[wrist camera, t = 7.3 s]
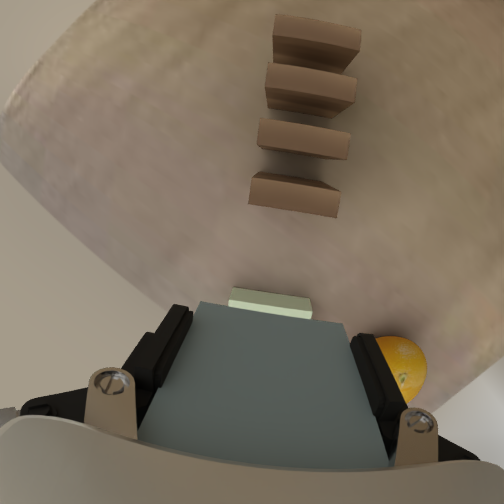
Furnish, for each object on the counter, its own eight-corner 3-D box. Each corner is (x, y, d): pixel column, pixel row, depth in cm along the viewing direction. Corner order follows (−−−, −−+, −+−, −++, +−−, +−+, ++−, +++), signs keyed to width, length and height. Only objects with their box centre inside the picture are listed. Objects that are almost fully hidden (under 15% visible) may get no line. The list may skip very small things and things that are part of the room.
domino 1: (275, 52, 25) (275, 14, 17) (337, 63, 25) (361, 30, 16) (273, 69, 26) (272, 34, 17) (336, 79, 26) (359, 50, 17)
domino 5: (200, 301, 13) (110, 490, 4) (342, 323, 13) (403, 517, 4) (197, 337, 13) (124, 520, 5) (331, 357, 13) (369, 544, 5)
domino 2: (270, 90, 26) (268, 62, 18) (333, 100, 26) (357, 78, 18) (267, 107, 27) (264, 86, 18) (331, 118, 27) (354, 102, 18)
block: (233, 287, 32) (229, 299, 29) (309, 298, 32) (312, 311, 29) (230, 312, 33) (225, 326, 30) (303, 323, 33) (305, 337, 30)
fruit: (414, 316, 32) (442, 355, 24) (409, 370, 34) (430, 411, 27) (342, 331, 33) (356, 376, 25) (344, 384, 35) (355, 430, 28)
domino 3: (264, 130, 28) (260, 117, 19) (328, 140, 27) (350, 133, 19) (262, 148, 28) (256, 144, 20) (325, 159, 28) (346, 159, 19)
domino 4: (258, 171, 29) (252, 177, 20) (321, 181, 29) (341, 192, 20) (256, 190, 29) (248, 204, 21) (318, 200, 29) (336, 218, 21)
